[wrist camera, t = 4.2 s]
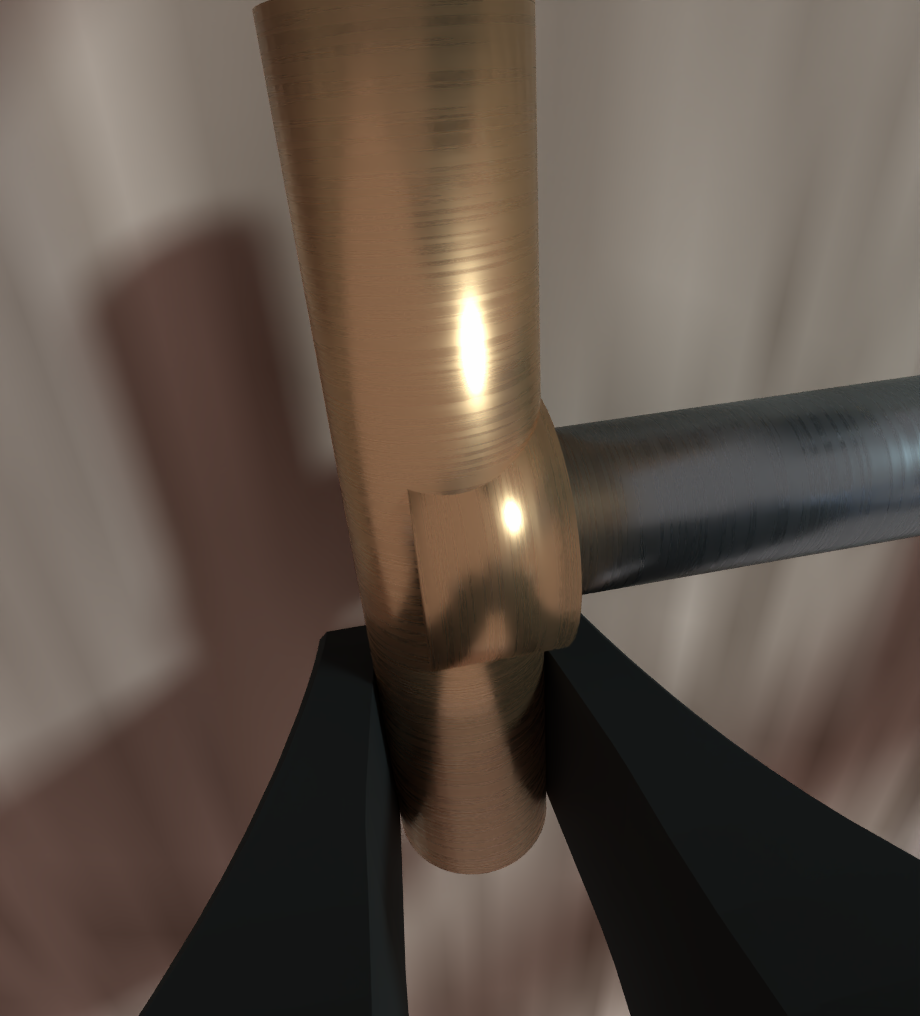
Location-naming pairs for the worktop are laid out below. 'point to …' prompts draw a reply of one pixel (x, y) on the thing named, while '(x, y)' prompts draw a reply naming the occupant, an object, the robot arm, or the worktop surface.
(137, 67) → the worktop surface
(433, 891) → the worktop surface
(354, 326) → the t-handle rod
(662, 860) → the robot arm
